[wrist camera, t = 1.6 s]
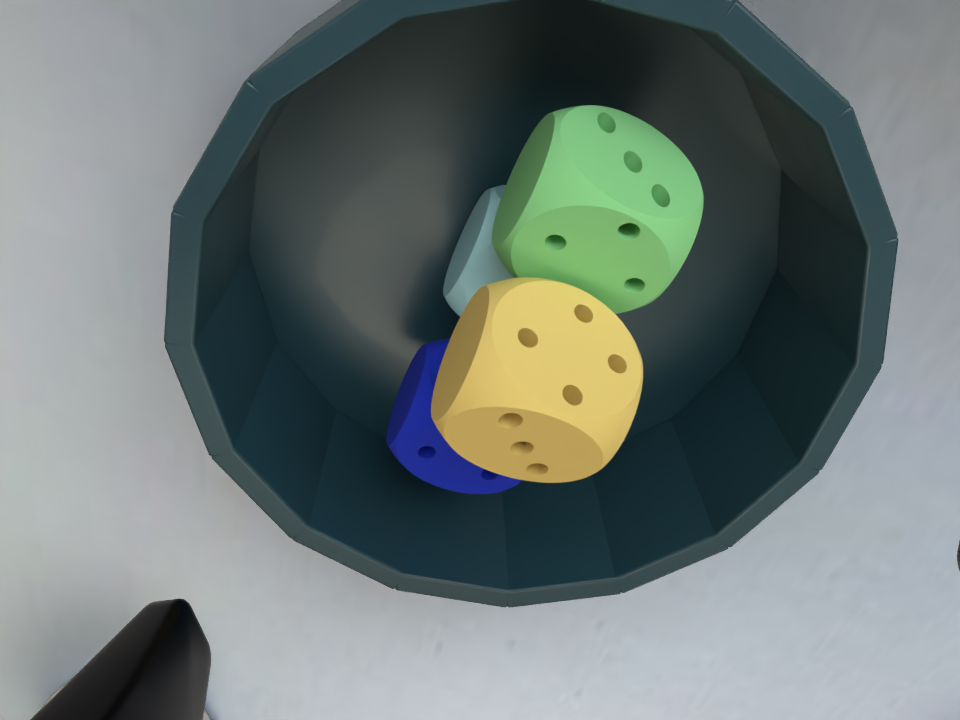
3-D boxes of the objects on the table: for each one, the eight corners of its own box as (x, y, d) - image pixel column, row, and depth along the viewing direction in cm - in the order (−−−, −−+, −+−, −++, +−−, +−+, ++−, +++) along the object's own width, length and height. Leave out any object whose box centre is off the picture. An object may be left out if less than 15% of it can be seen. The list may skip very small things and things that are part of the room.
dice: (492, 422, 19) (505, 640, 14) (389, 384, 19) (359, 596, 13) (668, 110, 16) (781, 236, 10) (547, 50, 15) (597, 151, 9)
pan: (811, -116, 14) (944, -113, 10) (782, 434, 20) (859, 566, 16) (149, -2, 15) (38, 40, 11) (314, 496, 21) (282, 636, 17)
